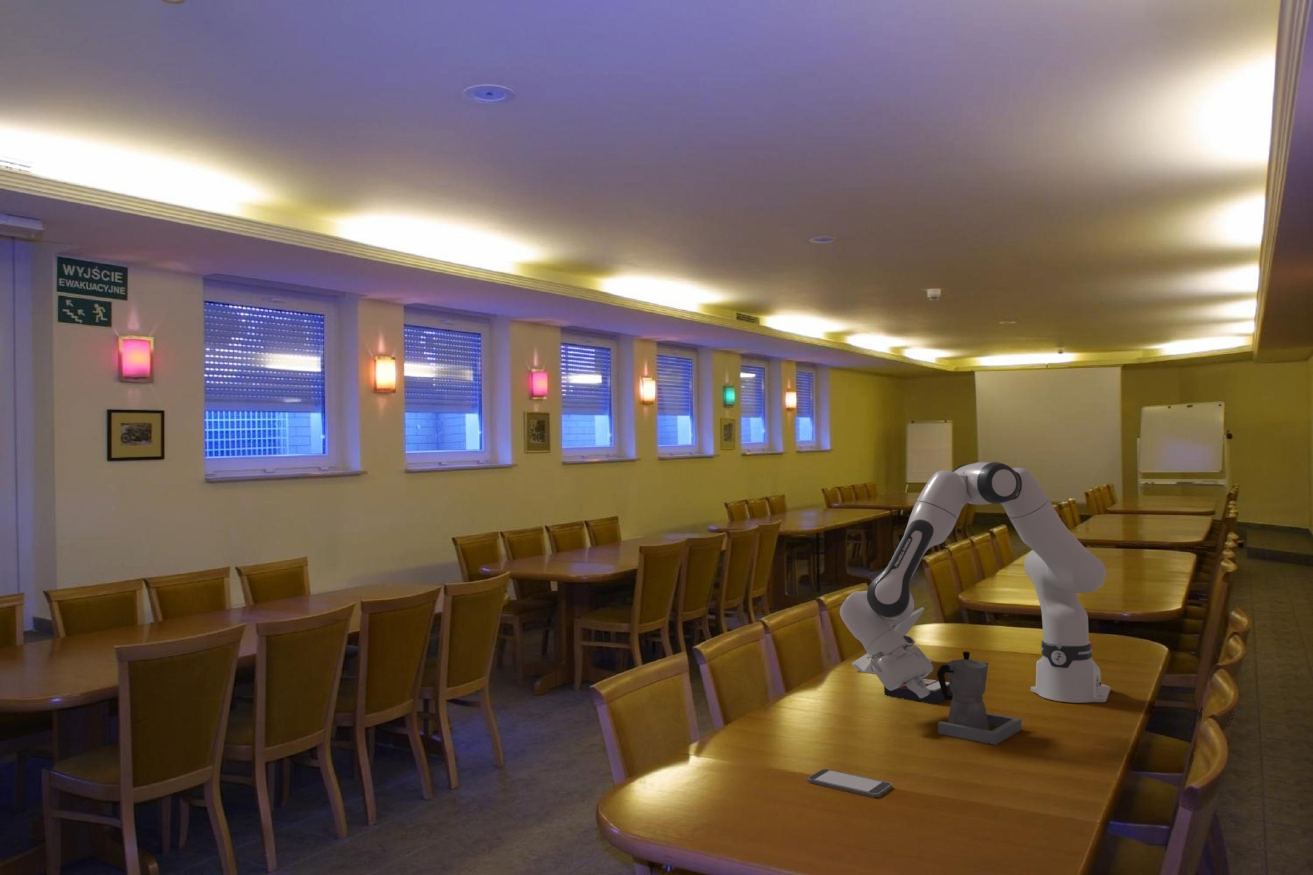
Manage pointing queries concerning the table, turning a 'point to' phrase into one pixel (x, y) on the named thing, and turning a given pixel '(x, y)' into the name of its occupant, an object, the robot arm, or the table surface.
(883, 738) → the table surface
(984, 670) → the coffeepot
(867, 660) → the tablet stand
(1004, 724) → the dock
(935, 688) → the calculator
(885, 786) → the smartphone
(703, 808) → the table surface
